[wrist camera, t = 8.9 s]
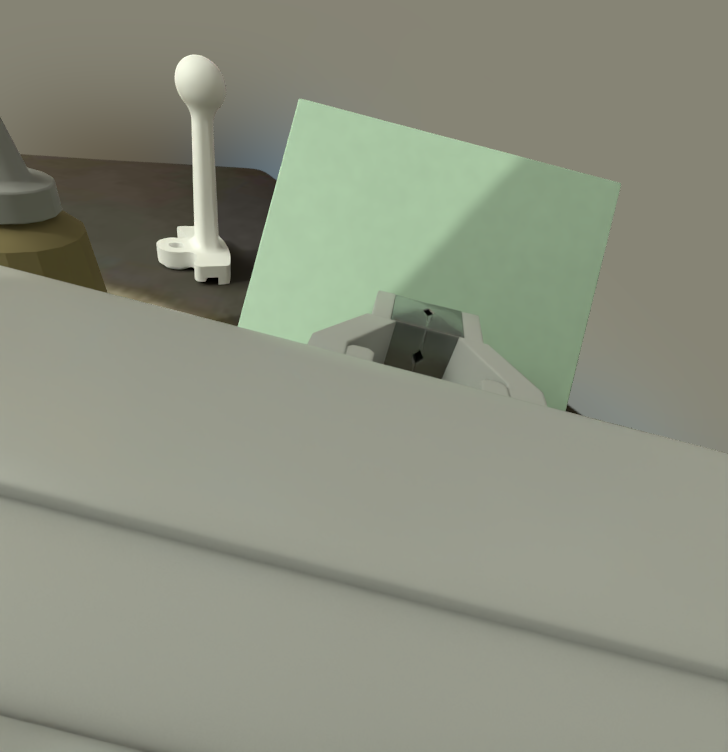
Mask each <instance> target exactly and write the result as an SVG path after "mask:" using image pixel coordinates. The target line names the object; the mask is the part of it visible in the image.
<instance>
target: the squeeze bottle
mask: <svg viewBox="0 0 728 752" xmlns="http://www.w3.org/2000/svg"><path fill="white" fill-rule="evenodd" d="M0 265H1V266H5V267H9V268H13V269H16V270H20V271H24V272H28V273H32V274H36V275H40V276H44V277H47V278H51V279H55V280H59V281H63V282H67V283H71V284H75V285H78V286H82V287H86V288H90V289H94V290H98V291H102V292H106V293H107V290H106V287H105V284H104V281H103V279H102V276H101V273H100V270H99V267H98V264H97V261H96V258H95V255H94V252H93V249H92V247H91V244H90V241H89V238H88V235H87V232H86V229H85V227H84V224H83V223H82V222H81V221H79V220H77V219H76V218H74V217H73V216H71V215H69V214H68V213H66V212H64V211H62V207H61V203H60V199H59V195H58V192H57V188H56V184H55V181H54V178H52V177H51V176H49V175H47V174H45V173H44V172H41V171H37V170H34V169H30V168H27V167H26V165H25V163H24V161H23V159H22V157H21V155H20V153H19V152H18V150H17V148H16V146H15V144H14V142H13V140H12V138H11V136H10V135H9V133H8V131H7V129H6V127H5V125H4V123H3V121H2V120H1V118H0Z"/></svg>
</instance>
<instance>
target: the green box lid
mask: <svg viewBox="0 0 728 752" xmlns="http://www.w3.org/2000/svg"><path fill="white" fill-rule="evenodd" d="M620 188H621V183H618V182H615V181H611V180H607V179H603V178H599V177H596V176H592V175H588V174H585V173H581V172H577V171H573V170H569V169H566V168H562V167H558V166H554V165H550V164H547V163H543V162H538V161H535V160H531V159H528V158H524V157H520V156H516V155H512V154H509V153H505V152H501V151H497V150H493V149H490V148H486V147H482V146H478V145H475V144H471V143H467V142H463V141H459V140H456V139H452V138H448V137H444V136H440V135H437V134H433V133H429V132H425V131H421V130H418V129H414V128H410V127H406V126H402V125H399V124H395V123H391V122H387V121H383V120H380V119H376V118H372V117H368V116H364V115H361V114H357V113H353V112H349V111H346V110H342V109H338V108H334V107H331V106H327V105H323V104H319V103H315V102H312V101H308V100H304V99H299V101H298V104H297V108H296V112H295V116H294V119H293V123H292V127H291V131H290V134H289V138H288V142H287V145H286V149H285V153H284V156H283V160H282V164H281V168H280V171H279V175H278V179H277V182H276V186H275V190H274V194H273V197H272V201H271V205H270V208H269V212H268V216H267V220H266V223H265V227H264V231H263V235H262V238H261V242H260V246H259V249H258V253H257V257H256V261H255V264H254V268H253V272H252V275H251V279H250V283H249V287H248V290H247V294H246V298H245V301H244V305H243V309H242V313H241V316H240V320H239V324H238V327H241V328H245V329H249V330H253V331H257V332H261V333H264V334H268V335H272V336H276V337H280V338H284V339H288V340H291V341H295V342H299V343H303V344H308V342H309V340H310V338H311V336H312V334H313V333H314V332H317V331H320V330H322V329H325V328H328V327H331V326H333V325H336V324H339V323H342V322H344V321H347V320H350V319H353V318H355V317H358V316H361V315H364V314H366V313H368V314H372V311H373V307H374V304H375V300H376V297H377V293H378V291H379V290H380V291H384V292H389V293H393V294H395V295H399V296H402V297H406V298H409V299H413V300H417V301H420V302H424V303H427V304H433V305H437V306H441V307H446V308H450V309H454V310H458V311H462V312H465V313H469V314H474V315H477V316H479V320H480V326H481V331H482V337H483V342H484V344H488V345H489V346H491V347H492V348H493V349H494V350H495V351H496V352H497V353H499V354H500V355H501V356H502V357H503V358H504V359H505V360H506V361H508V362H509V363H510V364H511V365H512V366H513V367H514V368H516V369H517V370H518V371H519V372H520V373H521V374H522V375H523V376H525V377H526V378H527V379H528V380H529V381H530V382H531V383H532V384H534V385H535V386H536V387H537V388H538V389H539V390H540V391H542V392H543V394H544V397H545V400H546V403H547V406H548V407H551V408H554V409H558V410H562V411H566V407H567V403H568V399H569V395H570V391H571V387H572V383H573V379H574V375H575V371H576V366H577V363H578V358H579V354H580V350H581V346H582V342H583V338H584V334H585V330H586V326H587V322H588V318H589V314H590V310H591V305H592V301H593V297H594V293H595V289H596V285H597V281H598V277H599V273H600V269H601V265H602V261H603V257H604V253H605V248H606V245H607V240H608V236H609V232H610V228H611V224H612V220H613V216H614V212H615V208H616V204H617V200H618V196H619V192H620Z"/></svg>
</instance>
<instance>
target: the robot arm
mask: <svg viewBox="0 0 728 752" xmlns="http://www.w3.org/2000/svg"><path fill="white" fill-rule="evenodd" d="M0 752H728V453H725V452H720V451H716V450H713V449H709V448H705V447H701V446H698V445H693V444H690V443H686V442H682V441H678V440H674V439H670V438H667V437H663V436H659V435H655V434H651V433H647V432H643V431H639V430H636V429H632V428H628V427H624V426H620V425H616V424H613V423H608V422H605V421H601V420H597V419H593V418H589V417H585V416H582V415H578V414H574V413H570V412H566V411H562V410H558V409H554V408H551V407H548V406H547V403H546V400H545V397H544V394H543V392H542V391H540V390H539V389H538V388H537V387H536V386H535V385H534V384H532V383H531V382H530V381H529V380H528V379H527V378H526V377H525V376H523V375H522V374H521V373H520V372H519V371H518V370H517V369H516V368H514V367H513V366H512V365H511V364H510V363H509V362H508V361H506V360H505V359H504V358H503V357H502V356H501V355H500V354H499V353H497V352H496V351H495V350H494V349H493V348H492V347H491V346H489V345H488V344H484V342H483V337H482V331H481V326H480V320H479V316H477V315H474V314H469V313H465V312H462V311H458V310H454V309H450V308H446V307H441V306H437V305H433V304H427V303H424V302H420V301H417V300H413V299H409V298H406V297H402V296H399V295H395V294H393V293H389V292H384V291H380V290H379V291H378V293H377V297H376V300H375V304H374V307H373V311H372V314H368V313H366V314H364V315H361V316H358V317H355V318H353V319H350V320H347V321H344V322H342V323H339V324H336V325H333V326H331V327H328V328H325V329H322V330H320V331H317V332H314V333H313V334H312V336H311V338H310V340H309V342H308V344H303V343H299V342H295V341H291V340H288V339H284V338H280V337H276V336H272V335H268V334H264V333H261V332H257V331H253V330H249V329H245V328H241V327H237V326H233V325H230V324H226V323H222V322H218V321H214V320H210V319H206V318H202V317H199V316H195V315H191V314H187V313H183V312H179V311H175V310H171V309H168V308H164V307H160V306H156V305H152V304H148V303H144V302H140V301H137V300H133V299H129V298H125V297H121V296H117V295H113V294H109V293H106V292H102V291H98V290H94V289H90V288H86V287H82V286H78V285H75V284H71V283H67V282H63V281H59V280H55V279H51V278H47V277H44V276H40V275H36V274H32V273H28V272H24V271H20V270H16V269H13V268H9V267H5V266H1V265H0Z"/></svg>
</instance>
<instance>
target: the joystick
mask: <svg viewBox="0 0 728 752" xmlns="http://www.w3.org/2000/svg"><path fill="white" fill-rule="evenodd" d="M175 84H176V88H177V91H178V93H179V95H180V97H181V98H182V100H183V101H184V102H185V104H186V105H187V107H188V109H189V111H190V114H191V119H192V154H193V155H192V156H193V194H194V226H178V227H177V234H178V238H165V239H161V240H159V241H158V242H157V243H156V245H157V253H158V260H159V262H160V263H162V264H164V265H165V266H166V267H168V268H172V269H186V268H189V267H193V268H194V271H195V280H197V281H199V282H206V280H207V278H215V277H218V285H220V284H229V283H230V278H231V257H230V252H229V249H228V247H227V245H226V244H225V242H224V241H223V240H222V239H221V238H220V237H219V235H218V214H217V194H216V174H215V154H214V134H213V119H214V116H215V113H216V111H217V110H218V109H219V108H220V107H221V105H222V104H223V102H224V99H225V95H226V85H225V81H224V78H223V75H222V73H221V71H220V70H219V68H218V67H217V66H216V65H215V64H214V63H213V62H212V61H211V60H209V59H208V58H206V57H204V56H201V55H189V56H186V57H185V58H183V59H182V60H181V61H180V62H179V64H178V66H177V67H176V71H175Z"/></svg>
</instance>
